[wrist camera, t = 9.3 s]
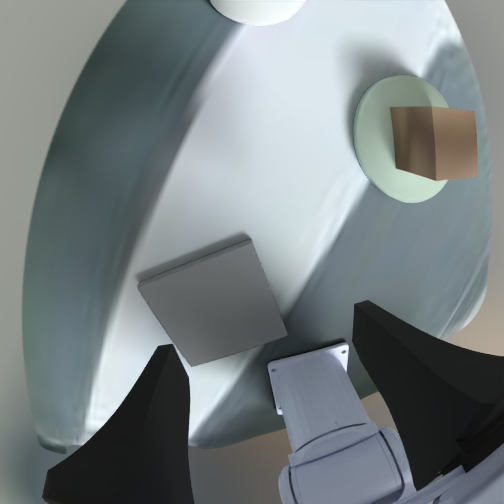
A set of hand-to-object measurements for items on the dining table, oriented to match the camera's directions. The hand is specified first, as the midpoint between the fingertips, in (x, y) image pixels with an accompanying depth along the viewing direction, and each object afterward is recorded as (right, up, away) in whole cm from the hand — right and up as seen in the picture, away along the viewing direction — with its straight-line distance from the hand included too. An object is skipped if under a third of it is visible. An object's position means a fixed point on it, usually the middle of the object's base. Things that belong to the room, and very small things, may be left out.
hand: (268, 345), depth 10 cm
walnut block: (+12, +12, +6) cm, 18 cm away
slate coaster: (-3, -1, +11) cm, 12 cm away
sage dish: (+11, +12, +8) cm, 18 cm away
